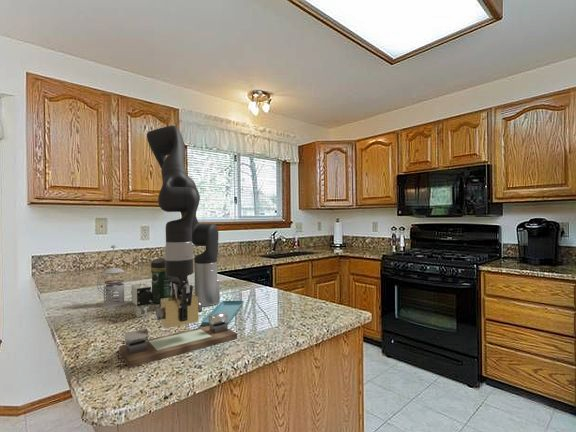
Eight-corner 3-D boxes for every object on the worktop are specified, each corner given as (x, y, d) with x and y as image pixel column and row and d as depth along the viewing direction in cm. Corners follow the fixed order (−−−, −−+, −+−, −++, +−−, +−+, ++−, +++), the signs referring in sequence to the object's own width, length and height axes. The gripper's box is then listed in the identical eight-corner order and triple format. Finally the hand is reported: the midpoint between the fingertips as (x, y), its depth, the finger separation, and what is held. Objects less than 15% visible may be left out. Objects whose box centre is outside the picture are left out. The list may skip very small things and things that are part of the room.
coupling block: (197, 316, 97) (197, 293, 97) (203, 320, 93) (203, 295, 93) (155, 325, 90) (155, 299, 90) (160, 329, 86) (159, 303, 86)
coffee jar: (177, 301, 141) (176, 258, 141) (160, 305, 135) (160, 260, 135) (164, 298, 147) (164, 257, 147) (148, 302, 141) (147, 258, 141)
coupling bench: (219, 328, 105) (218, 307, 105) (237, 338, 96) (236, 316, 96) (119, 351, 87) (119, 327, 88) (129, 367, 78) (128, 340, 78)
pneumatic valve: (138, 320, 115) (138, 286, 115) (131, 313, 124) (130, 281, 124) (155, 317, 118) (154, 284, 118) (146, 310, 127) (145, 279, 127)
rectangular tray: (228, 328, 106) (228, 320, 106) (200, 328, 107) (200, 320, 107) (244, 306, 132) (244, 300, 132) (222, 306, 133) (222, 300, 133)
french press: (119, 307, 133) (118, 245, 133) (91, 307, 133) (90, 246, 134) (131, 301, 143) (130, 244, 143) (105, 301, 143) (104, 244, 143)
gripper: (202, 258, 88) (202, 322, 88) (183, 254, 100) (184, 310, 99) (174, 261, 84) (175, 328, 84) (158, 256, 95) (158, 315, 95)
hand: (180, 318), depth 92 cm, fingers closed on coupling block, 4 cm apart
